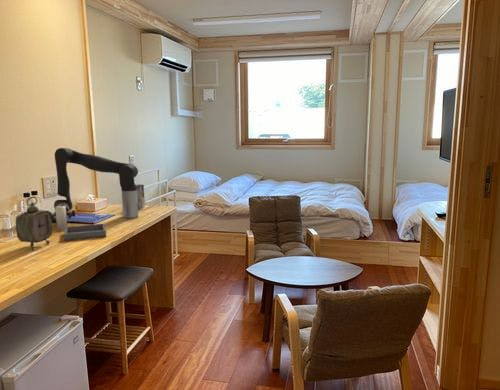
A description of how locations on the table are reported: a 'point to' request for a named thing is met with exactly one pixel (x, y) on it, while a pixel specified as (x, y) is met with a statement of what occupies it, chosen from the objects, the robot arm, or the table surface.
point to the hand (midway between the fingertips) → (61, 217)
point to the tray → (85, 232)
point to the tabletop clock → (34, 225)
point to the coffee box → (140, 197)
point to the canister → (61, 217)
